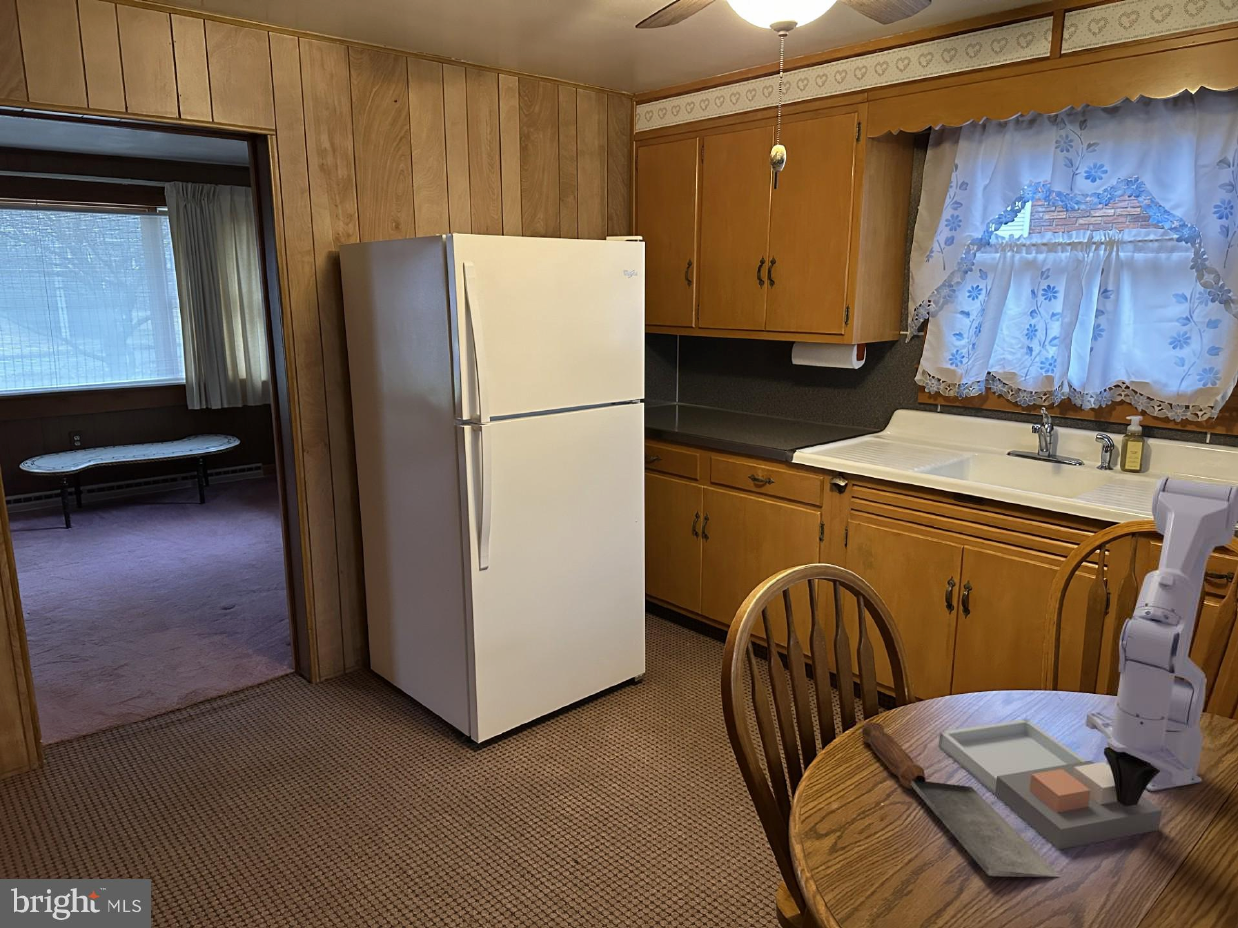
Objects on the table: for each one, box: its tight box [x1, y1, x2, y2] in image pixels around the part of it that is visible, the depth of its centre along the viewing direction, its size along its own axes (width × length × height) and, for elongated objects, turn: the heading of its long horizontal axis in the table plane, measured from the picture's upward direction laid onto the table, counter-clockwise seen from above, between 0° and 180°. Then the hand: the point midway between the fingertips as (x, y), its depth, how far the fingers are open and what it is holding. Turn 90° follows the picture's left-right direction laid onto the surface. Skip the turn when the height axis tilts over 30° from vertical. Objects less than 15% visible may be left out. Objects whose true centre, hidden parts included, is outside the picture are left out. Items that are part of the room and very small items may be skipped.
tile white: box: [1073, 761, 1117, 805], centre depth 115 cm, size 5×5×2 cm
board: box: [994, 760, 1163, 850], centre depth 115 cm, size 16×12×3 cm
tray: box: [938, 718, 1087, 796], centre depth 127 cm, size 16×13×2 cm
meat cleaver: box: [861, 721, 1062, 878], centre depth 118 cm, size 34×11×4 cm, turn 11°
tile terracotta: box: [1029, 769, 1090, 812], centre depth 113 cm, size 5×5×2 cm
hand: (1127, 802), depth 111 cm, fingers closed
